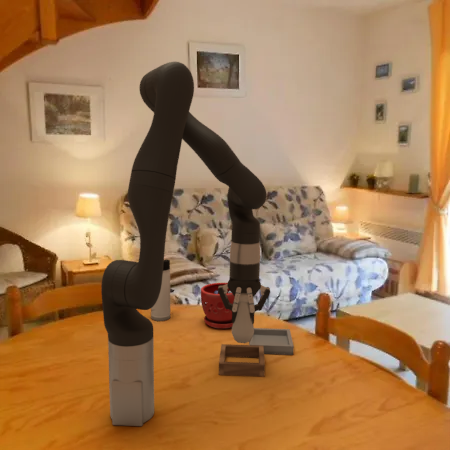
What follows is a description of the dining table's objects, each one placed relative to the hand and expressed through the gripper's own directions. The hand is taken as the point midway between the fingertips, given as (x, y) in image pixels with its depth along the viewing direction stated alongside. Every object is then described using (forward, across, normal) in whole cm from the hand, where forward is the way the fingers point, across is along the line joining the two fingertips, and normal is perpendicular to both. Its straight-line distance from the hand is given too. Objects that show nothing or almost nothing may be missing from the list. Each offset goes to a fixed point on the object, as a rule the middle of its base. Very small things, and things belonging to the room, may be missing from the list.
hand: (243, 324), depth 121 cm
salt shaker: (+4, 0, 0) cm, 4 cm away
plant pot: (+11, -7, +28) cm, 31 cm away
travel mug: (+11, -27, +31) cm, 43 cm away
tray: (+11, +8, +14) cm, 19 cm away
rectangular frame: (+11, 0, 0) cm, 11 cm away
